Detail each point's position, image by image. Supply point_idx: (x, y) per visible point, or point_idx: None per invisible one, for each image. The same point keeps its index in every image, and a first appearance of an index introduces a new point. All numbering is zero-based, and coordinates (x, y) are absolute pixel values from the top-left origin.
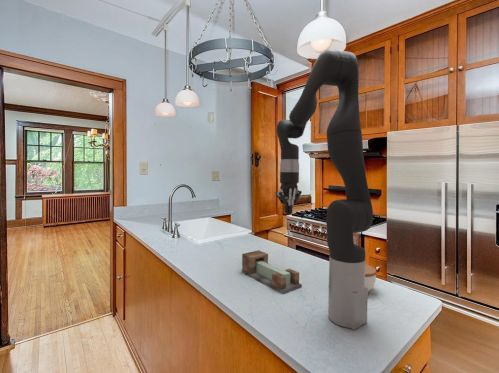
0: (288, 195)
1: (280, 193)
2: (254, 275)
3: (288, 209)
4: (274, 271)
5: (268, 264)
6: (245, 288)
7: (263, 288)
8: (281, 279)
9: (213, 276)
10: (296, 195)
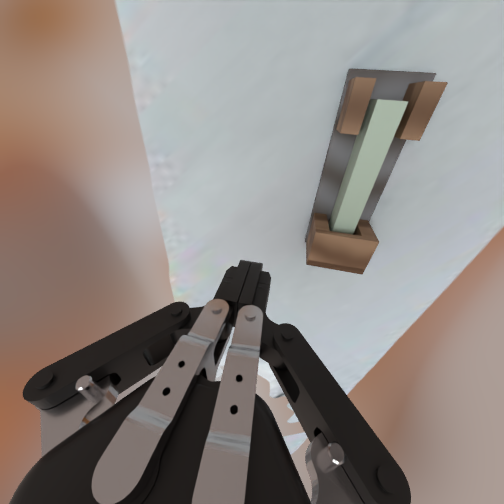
0: (253, 402)
1: (401, 486)
2: (370, 210)
3: (259, 289)
4: (385, 153)
5: (347, 200)
6: (444, 180)
7: (419, 147)
8: (444, 84)
9: (413, 270)
10: (122, 365)
